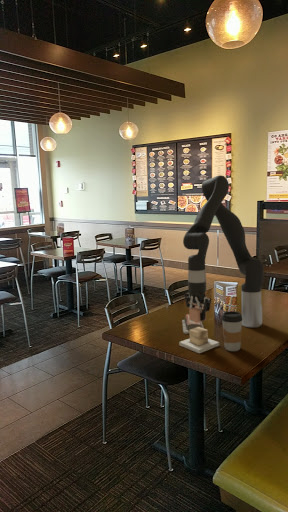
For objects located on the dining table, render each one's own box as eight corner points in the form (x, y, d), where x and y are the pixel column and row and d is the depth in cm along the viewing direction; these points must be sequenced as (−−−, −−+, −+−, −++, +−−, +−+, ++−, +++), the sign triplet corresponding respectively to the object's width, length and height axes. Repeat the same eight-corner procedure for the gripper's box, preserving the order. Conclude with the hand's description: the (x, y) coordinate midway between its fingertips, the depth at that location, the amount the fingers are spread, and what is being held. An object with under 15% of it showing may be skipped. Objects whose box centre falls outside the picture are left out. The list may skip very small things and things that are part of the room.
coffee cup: (219, 345, 161) (219, 311, 159) (238, 344, 162) (238, 310, 160) (225, 353, 153) (225, 317, 151) (245, 351, 154) (245, 316, 152)
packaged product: (181, 313, 194) (200, 312, 194) (181, 322, 195) (201, 321, 195) (183, 324, 177) (204, 324, 176) (183, 334, 177) (204, 334, 177)
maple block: (198, 338, 166) (198, 326, 165) (208, 342, 162) (207, 329, 161) (189, 342, 163) (189, 329, 162) (198, 345, 159) (198, 333, 158)
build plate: (199, 338, 171) (199, 335, 171) (219, 345, 161) (219, 342, 161) (179, 345, 164) (179, 341, 164) (199, 353, 154) (199, 350, 154)
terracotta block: (198, 317, 164) (197, 306, 164) (206, 320, 160) (206, 308, 160) (189, 319, 162) (189, 308, 161) (197, 322, 158) (197, 311, 157)
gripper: (215, 281, 155) (216, 321, 157) (191, 276, 166) (192, 313, 169) (202, 284, 151) (203, 325, 153) (178, 278, 162) (180, 317, 165)
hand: (197, 318), depth 161 cm, fingers closed on terracotta block, 5 cm apart
